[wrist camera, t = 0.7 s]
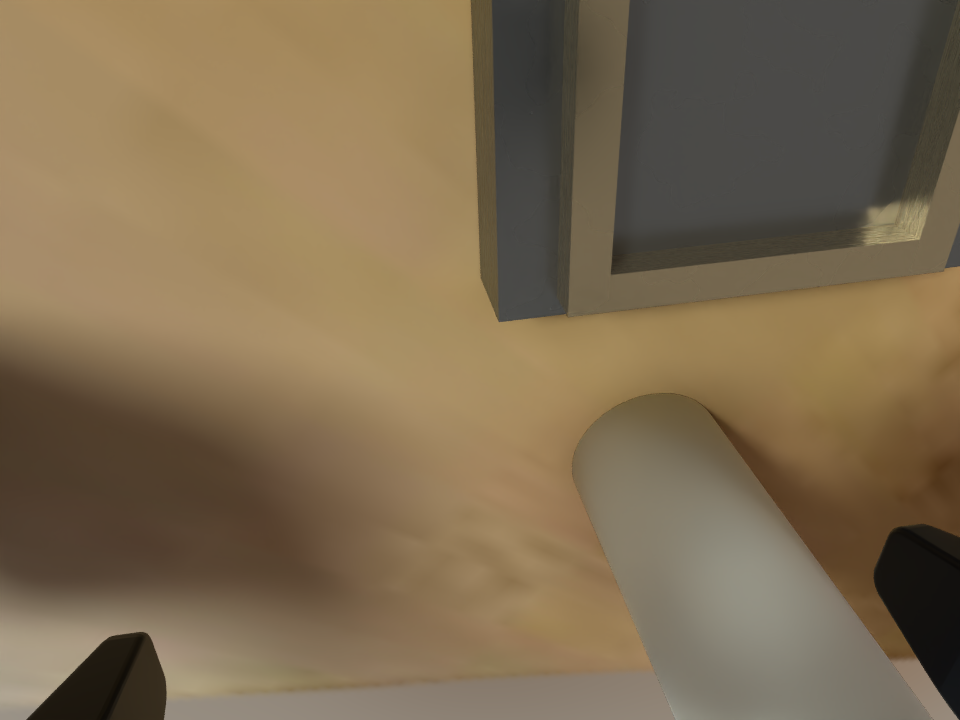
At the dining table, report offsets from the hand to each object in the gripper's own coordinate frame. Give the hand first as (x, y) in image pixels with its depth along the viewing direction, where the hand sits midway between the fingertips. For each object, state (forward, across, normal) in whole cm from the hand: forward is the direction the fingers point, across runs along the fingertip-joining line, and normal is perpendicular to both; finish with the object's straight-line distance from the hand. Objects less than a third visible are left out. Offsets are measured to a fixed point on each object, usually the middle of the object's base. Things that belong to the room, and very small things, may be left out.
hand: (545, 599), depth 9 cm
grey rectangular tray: (+13, +8, +4) cm, 15 cm away
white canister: (+13, +7, -10) cm, 18 cm away
